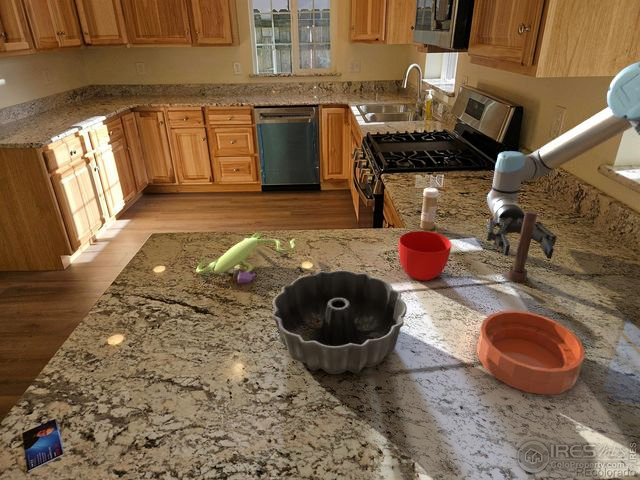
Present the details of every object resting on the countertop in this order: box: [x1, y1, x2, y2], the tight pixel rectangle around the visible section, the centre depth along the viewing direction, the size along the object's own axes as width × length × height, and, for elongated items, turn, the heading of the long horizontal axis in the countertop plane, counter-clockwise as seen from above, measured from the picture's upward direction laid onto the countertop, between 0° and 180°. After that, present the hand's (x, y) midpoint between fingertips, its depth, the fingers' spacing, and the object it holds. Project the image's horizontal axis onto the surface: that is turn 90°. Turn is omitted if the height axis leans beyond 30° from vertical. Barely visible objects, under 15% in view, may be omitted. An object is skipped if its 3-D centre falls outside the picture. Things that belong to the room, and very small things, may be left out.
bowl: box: [476, 310, 586, 395], centre depth 81 cm, size 18×18×6 cm
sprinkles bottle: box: [419, 187, 439, 231], centre depth 136 cm, size 5×5×13 cm
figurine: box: [195, 232, 297, 284], centre depth 117 cm, size 18×27×6 cm
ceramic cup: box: [398, 230, 452, 282], centre depth 112 cm, size 13×17×10 cm
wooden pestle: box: [507, 209, 538, 283], centre depth 106 cm, size 4×4×19 cm
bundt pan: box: [271, 269, 408, 375], centre depth 86 cm, size 26×26×10 cm
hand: (528, 252), depth 101 cm, fingers open, 9 cm apart
